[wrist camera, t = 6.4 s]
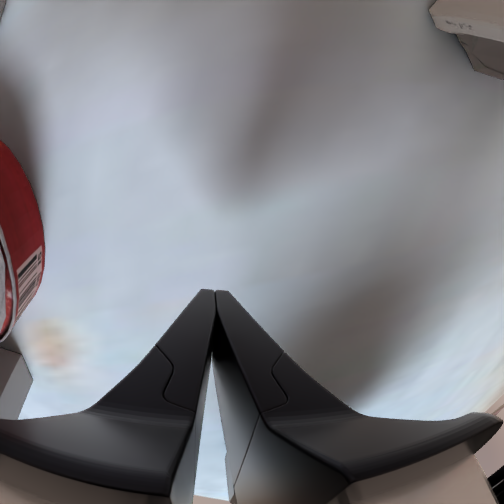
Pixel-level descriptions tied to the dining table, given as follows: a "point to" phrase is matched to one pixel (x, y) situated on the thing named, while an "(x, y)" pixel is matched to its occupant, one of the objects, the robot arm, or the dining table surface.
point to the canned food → (18, 242)
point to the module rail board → (12, 371)
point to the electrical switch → (475, 30)
